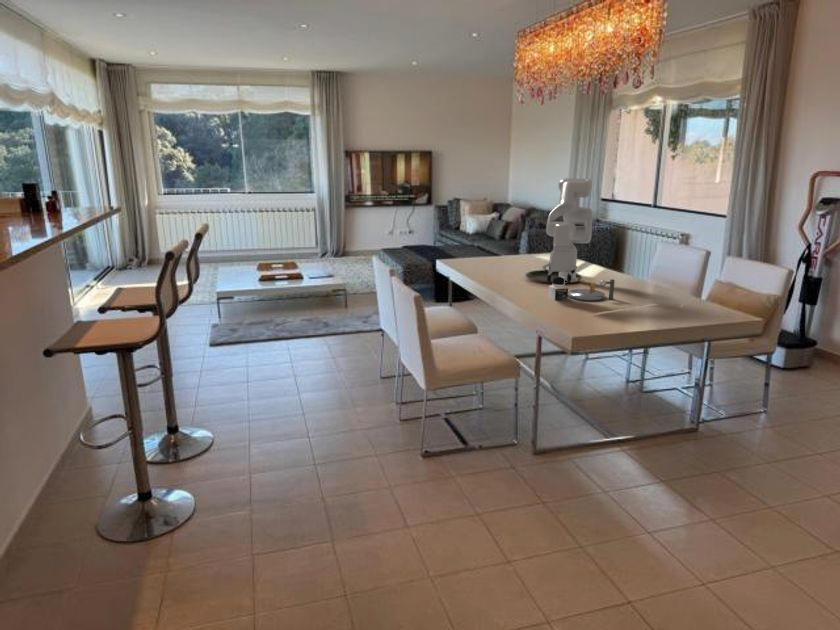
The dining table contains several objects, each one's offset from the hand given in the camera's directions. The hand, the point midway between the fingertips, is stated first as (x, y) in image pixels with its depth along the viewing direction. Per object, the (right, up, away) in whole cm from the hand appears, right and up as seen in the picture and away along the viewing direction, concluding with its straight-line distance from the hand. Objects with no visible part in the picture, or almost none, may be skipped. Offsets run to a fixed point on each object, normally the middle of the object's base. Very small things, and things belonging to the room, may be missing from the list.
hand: (558, 282), depth 288 cm
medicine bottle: (0, -9, +3) cm, 9 cm away
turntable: (+15, -7, +5) cm, 17 cm away
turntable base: (+15, -8, +5) cm, 18 cm away
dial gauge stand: (+24, -9, 0) cm, 26 cm away
